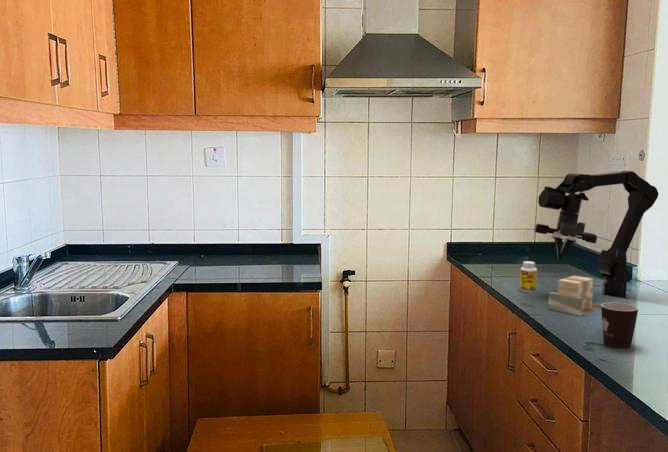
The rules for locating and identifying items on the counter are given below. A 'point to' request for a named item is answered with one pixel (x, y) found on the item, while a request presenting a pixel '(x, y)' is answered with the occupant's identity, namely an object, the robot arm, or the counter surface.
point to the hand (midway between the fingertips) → (559, 259)
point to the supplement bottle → (528, 277)
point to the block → (577, 288)
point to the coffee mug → (618, 324)
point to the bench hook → (569, 304)
